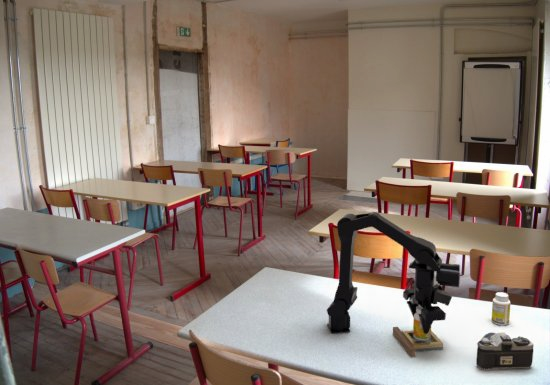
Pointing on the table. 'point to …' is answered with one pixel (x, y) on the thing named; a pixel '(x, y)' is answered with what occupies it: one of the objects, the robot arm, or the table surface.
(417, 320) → the supplement bottle
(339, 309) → the robot arm
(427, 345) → the plate
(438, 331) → the table surface
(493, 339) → the camera
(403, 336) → the door edge rail
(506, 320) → the supplement bottle
